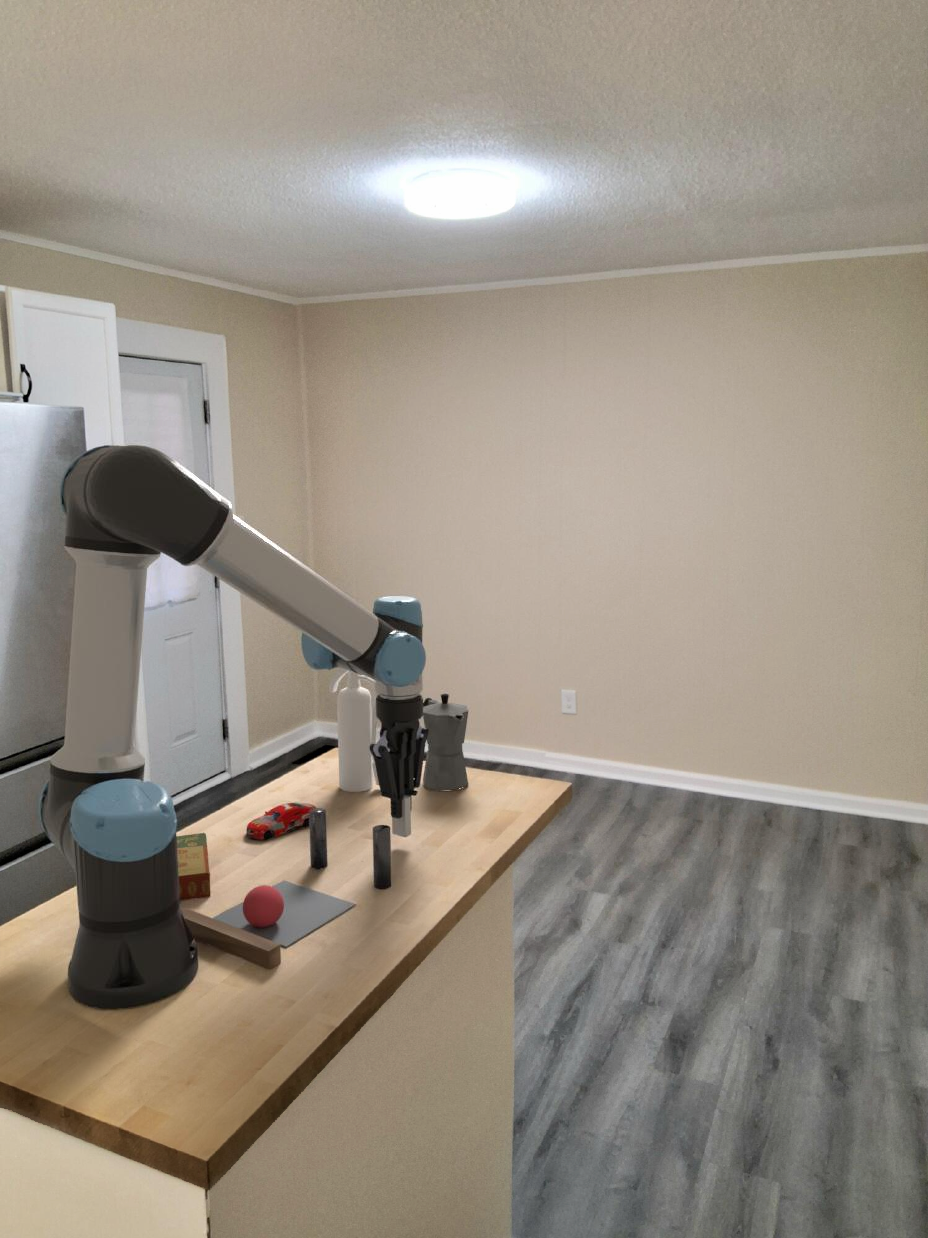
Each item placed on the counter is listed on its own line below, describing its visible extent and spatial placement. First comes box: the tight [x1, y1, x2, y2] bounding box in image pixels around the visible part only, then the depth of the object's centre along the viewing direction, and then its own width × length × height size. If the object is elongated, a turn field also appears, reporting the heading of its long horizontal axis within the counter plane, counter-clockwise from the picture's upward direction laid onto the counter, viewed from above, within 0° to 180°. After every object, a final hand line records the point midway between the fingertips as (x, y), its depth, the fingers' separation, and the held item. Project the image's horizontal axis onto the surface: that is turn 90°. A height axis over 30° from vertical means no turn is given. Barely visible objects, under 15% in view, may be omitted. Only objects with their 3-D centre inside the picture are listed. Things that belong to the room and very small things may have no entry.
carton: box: [176, 832, 211, 902], centre depth 143 cm, size 8×16×4 cm, turn 17°
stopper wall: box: [181, 907, 282, 970], centre depth 123 cm, size 2×18×2 cm, turn 56°
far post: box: [309, 807, 329, 870], centre depth 146 cm, size 3×3×9 cm
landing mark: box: [212, 879, 357, 949], centre depth 132 cm, size 14×14×1 cm
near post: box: [372, 824, 392, 891], centre depth 139 cm, size 3×3×9 cm
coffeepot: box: [422, 693, 469, 792], centre depth 183 cm, size 15×9×18 cm, turn 29°
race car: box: [246, 802, 317, 841], centre depth 162 cm, size 13×5×4 cm, turn 132°
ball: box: [242, 884, 284, 928], centre depth 128 cm, size 6×6×6 cm
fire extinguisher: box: [328, 668, 379, 793], centre depth 180 cm, size 7×12×25 cm, turn 69°
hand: (401, 834), depth 154 cm, fingers closed
